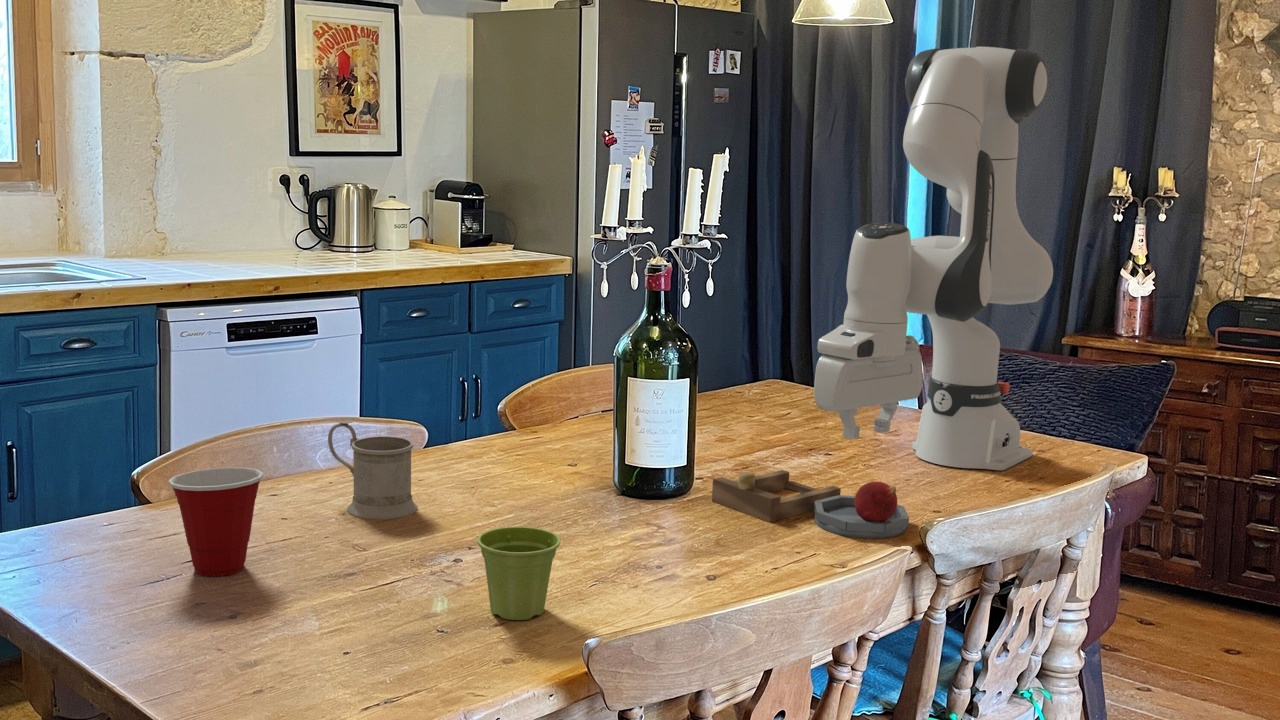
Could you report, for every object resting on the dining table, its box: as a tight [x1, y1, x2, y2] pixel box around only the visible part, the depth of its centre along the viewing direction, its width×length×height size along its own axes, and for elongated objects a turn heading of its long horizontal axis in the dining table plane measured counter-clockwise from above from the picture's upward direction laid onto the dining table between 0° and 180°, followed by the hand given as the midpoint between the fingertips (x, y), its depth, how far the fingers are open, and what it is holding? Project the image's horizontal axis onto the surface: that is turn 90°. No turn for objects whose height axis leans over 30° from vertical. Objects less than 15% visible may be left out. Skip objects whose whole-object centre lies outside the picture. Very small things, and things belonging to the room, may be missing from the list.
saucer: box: [813, 494, 910, 540], centre depth 176 cm, size 13×13×2 cm
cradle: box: [711, 469, 842, 523], centre depth 184 cm, size 16×12×6 cm
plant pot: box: [476, 526, 561, 621], centre depth 139 cm, size 9×9×9 cm
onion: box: [854, 481, 898, 522], centre depth 172 cm, size 6×6×8 cm
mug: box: [327, 419, 418, 521], centre depth 174 cm, size 14×10×12 cm
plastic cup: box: [167, 467, 264, 577], centre depth 148 cm, size 11×11×12 cm
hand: (866, 435), depth 174 cm, fingers open, 5 cm apart
